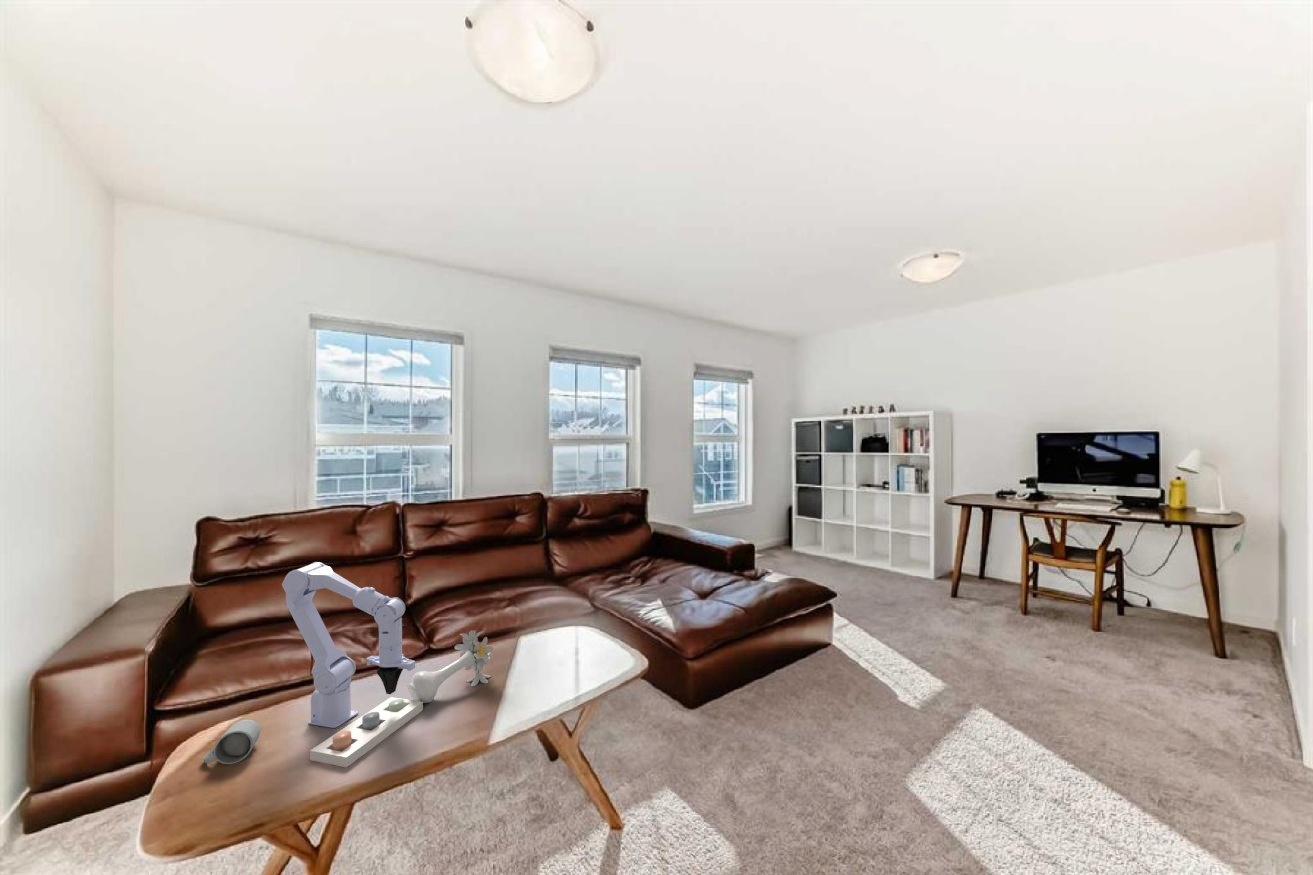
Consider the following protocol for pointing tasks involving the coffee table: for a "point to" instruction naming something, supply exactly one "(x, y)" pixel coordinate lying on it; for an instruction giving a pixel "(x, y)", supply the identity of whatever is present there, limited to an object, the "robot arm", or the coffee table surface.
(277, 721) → the coffee table surface
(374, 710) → the panel
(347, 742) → the terracotta button
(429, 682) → the flower vase
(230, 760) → the ceramic mug
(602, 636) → the coffee table surface
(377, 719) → the slate button
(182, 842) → the coffee table surface
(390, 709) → the sage button
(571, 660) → the coffee table surface
